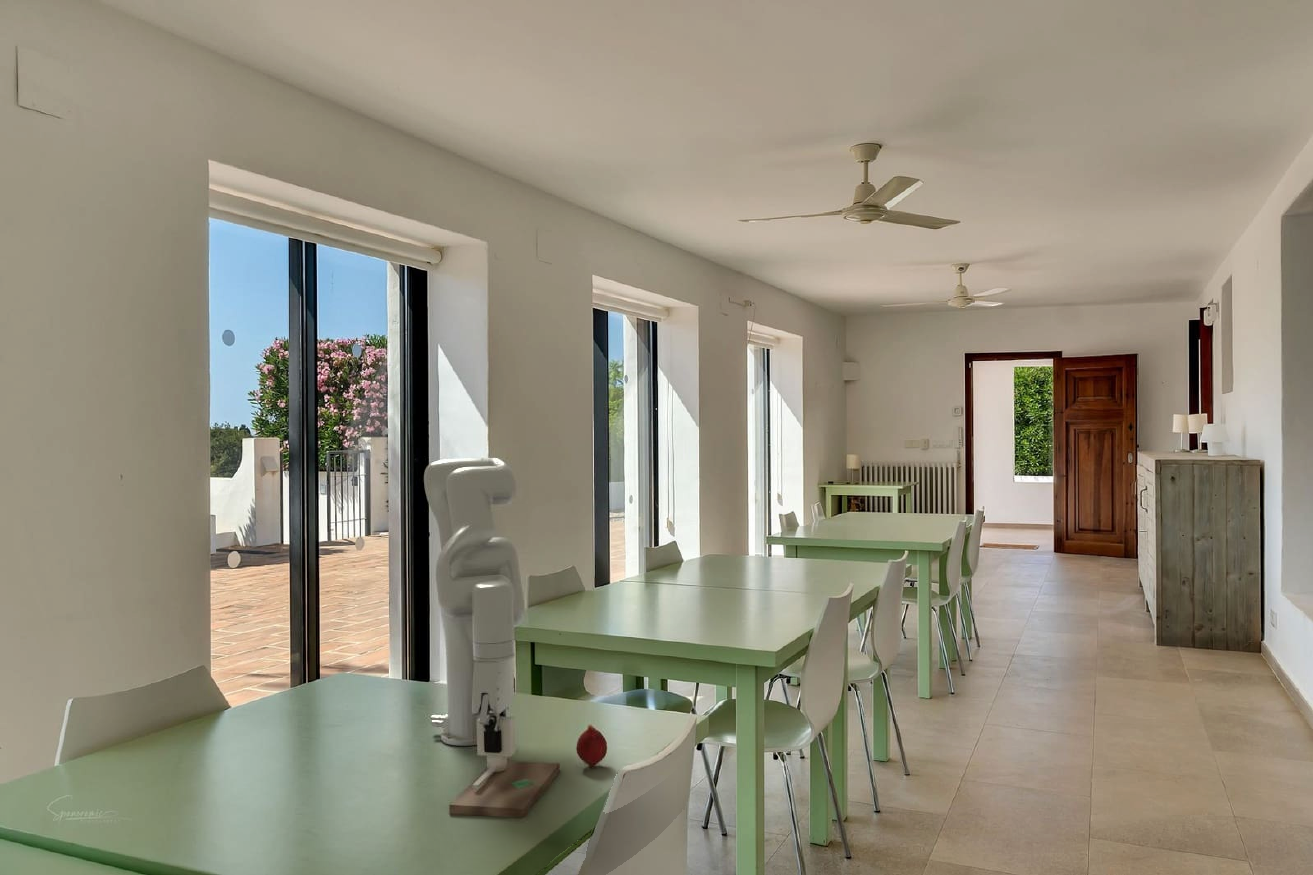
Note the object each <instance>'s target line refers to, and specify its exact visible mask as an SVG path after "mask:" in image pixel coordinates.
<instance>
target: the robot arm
mask: <svg viewBox="0 0 1313 875" xmlns="http://www.w3.org/2000/svg"><path fill="white" fill-rule="evenodd" d="M423 483H424V491H425V495H426V500H427V502H428V505H429V507H430V509H431V511H432V514H433V516H434V519H435V520H436V522H437V525H438V526H437V527H438V531H439V532H438V534H439V543H440V553H439V555H438V557H437V559H436V560H437V561H436V565H435V584H436V590H437V598H438V604H439V608H440V616H441V621H442V627H443V628H442V629H443V633H444V643H445V660H446V662H445V663H446V664H445V666H446V695H447V696H446V697H447V699H446V700H447V701H446V702H447V714H445V715H441V714H433V715H431V717H430V723H431V727H432V728H442V729H443V730H442V731H441V733H440V740H441V742H443V744H447V745H451V746H458V747H459V746H460V747H461V746H462V747H465V746H468V747H469V746H477V720H478V719H479V718H480V721H479V722H480V724H482V725H483V731H484V751H485V752H486V753H500V752H501V751H502V739H501V730H499V716H506V717H510V716H509V711H510V710H509V708H510V706H511V705H512V704H513V702H514V698H515V678H514V676H515V675H514V664H513V658H514V657H515V656H516V655H515V653H516V651H515V628H516V627H518V626H520V625H521V624H522V623H523V621H524V618H525V613H526V612H525V610H526V608H525V606H526V605H525V598H524V592H523V591H524V590H523V584H522V579H521V573H520V571H521V570H520V565H519V558H518V553H517V549H516V547H515V544H514V543H513V542H512V540H510V539H509V538H506V537H503V536H502V537H501V536H495V535H496V524H495V520H494V514H493V509H492V507H495V506H496V507H497V506H508V505H511V504H512V503H514V501H515V499H516V497H517V492H518V491H517V489H518V488H517V481H516V477H515V474H514V472H513V470H512V469H511V467H510V466H509V465H508V464H507V463H506V462H504V461H503V460H502V459H500V458H497V457H479V458H478V457H475V458H474V457H473V458H448V459H441V460H437V461H432V462H431V463H430V464H428V465H427V466H426V468H425V470H424V474H423ZM490 718H494V721H493V719H490Z"/></svg>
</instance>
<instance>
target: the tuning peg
mask: <svg viewBox="0 0 1313 875" xmlns="http://www.w3.org/2000/svg"><path fill="white" fill-rule="evenodd" d="M490 719H493V721H494V718H490ZM479 721H480V718H479V719H478V720H477V745H476V748H477V750H476V751H477V756H486V768H487V771H486V772H485V773H484V774H483V775H482V776H481V777H480V778H479V779H478V780H477V781H476V782H475V783H474V784H473V788H479V787H480V786H481V785H482V784H483V783H484V782H485V781H486V780H487V778H488V777H489V776H490V775H491V774H492V773H493V772H500V771H503V770H505V769H507V761H508V757H512V756H513V755H514V754H515V753H516V751H517V746H516V745H517V744H516V740H517V739H516V716H509V717H506V716H499V730H501V739H502V751H501V752H500V753H486V752H485V751H484V731H483V725H482V724H480V722H479Z"/></svg>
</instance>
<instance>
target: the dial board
mask: <svg viewBox="0 0 1313 875" xmlns="http://www.w3.org/2000/svg"><path fill="white" fill-rule="evenodd" d="M560 763H561V762H560ZM560 763H559V762H546V761H545V762H541V761H540V762H539V761H538V762H537V761H520V760H519V761H518V760H507V769H505V770H503V771H500V772H493V773H492V774H491V775H490V776H489V777H488V778H487V780H486V781H485V782H484V783H483V784H482V785H481V786H480V787H479V788H473V784H474V783H475V782H476V781H477V780H478V779H479V778H480V777H481V776H482V775H483V774H484V773H485V772H486V771H487V767H486V768H485V769H483V771H481V773H479V775H478V776H476V777H475V779H474V780H472V781H471V782H470V783H469V784H468V785H467V786H466V787H465V788H464V789H463V790H462V792H460V794H458V795H457V796H456V797H455V798H454V799H453V800H452V802H450V804H448V805H449V806H448V808H449V809H448V810H449V814H450V815H466V816H468V815H469V816H485V817H487V816H488V817H504V818H519V819H520V818H525V817H526V816H527V814H528V812H529V811H530V810H531V809H532V807H533V806H534V805H535V803H537V801H538V800H539V798H540V797H541V796H542V795H543V794H544V792H545V791H546V789H547V788H548V787H549V786H550V785H551V784H552V782H553V780H554V779H555V778H556V777H557V775H558V774H559V773H560V771H561V764H560Z"/></svg>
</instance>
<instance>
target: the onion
mask: <svg viewBox="0 0 1313 875" xmlns="http://www.w3.org/2000/svg"><path fill="white" fill-rule="evenodd" d="M587 725H588V726H587V729H586V730H585V731H584V732H582V733H581V735H579V737H578V739H577V741H576V748H575V749H576V753H577V756H578V757H579V759H580V760H581V761H583V763H584V764H586V765H587V766H589V767H590V768H592V767H595V766H596V765H598V764H599V763H600V762H601V761H602V760H603V759H604V758H605V757H606V755H607V753H608V743H607V740H606V738H605V736H604V735H603V733H602V732H601V731H599V730H598V729H596V728H595V727H594V726H593V725H592V724H591V723H589V724H587Z"/></svg>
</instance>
